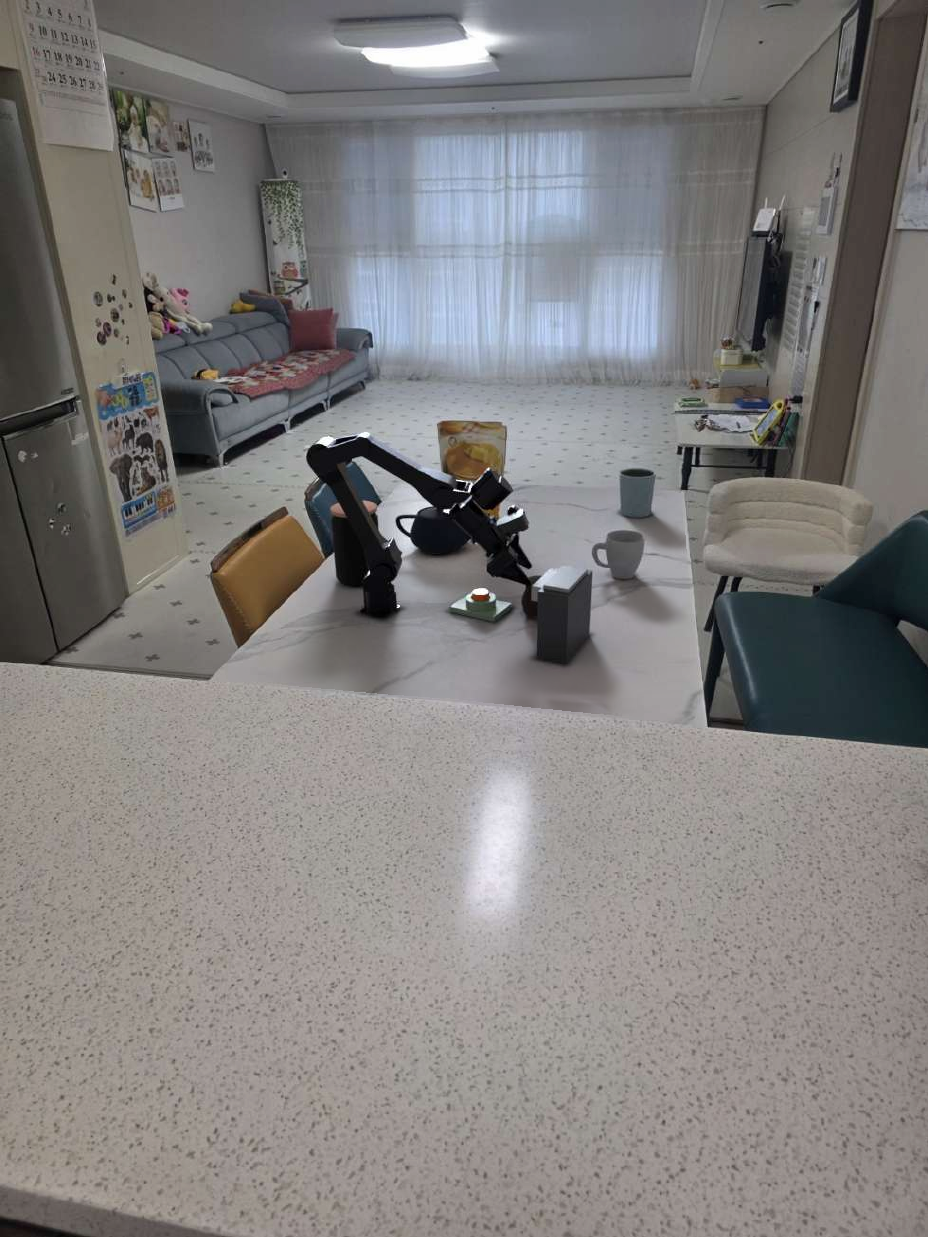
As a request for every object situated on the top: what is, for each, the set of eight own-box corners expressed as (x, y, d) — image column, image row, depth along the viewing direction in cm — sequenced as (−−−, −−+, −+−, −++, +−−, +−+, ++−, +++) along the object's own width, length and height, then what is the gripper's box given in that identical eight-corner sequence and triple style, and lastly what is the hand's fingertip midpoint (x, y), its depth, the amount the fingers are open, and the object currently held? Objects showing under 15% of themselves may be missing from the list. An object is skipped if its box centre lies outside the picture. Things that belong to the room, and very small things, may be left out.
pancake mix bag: (442, 515, 239) (439, 418, 228) (507, 518, 235) (507, 420, 224) (436, 522, 233) (433, 423, 222) (503, 526, 230) (503, 425, 218)
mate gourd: (527, 605, 180) (528, 562, 176) (560, 610, 178) (562, 567, 173) (515, 618, 175) (516, 574, 170) (549, 623, 172) (550, 579, 167)
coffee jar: (390, 575, 198) (385, 503, 190) (367, 591, 189) (361, 516, 182) (352, 569, 202) (346, 498, 194) (327, 584, 193) (320, 510, 186)
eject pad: (449, 611, 178) (449, 598, 177) (468, 598, 184) (468, 586, 183) (494, 622, 173) (493, 609, 172) (512, 608, 179) (512, 595, 178)
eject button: (469, 600, 177) (469, 592, 176) (477, 594, 180) (477, 587, 179) (483, 603, 175) (483, 596, 175) (492, 597, 178) (492, 590, 177)
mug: (638, 567, 199) (641, 529, 195) (644, 581, 191) (647, 542, 187) (588, 568, 200) (590, 530, 196) (592, 581, 192) (594, 542, 188)
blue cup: (655, 518, 233) (659, 476, 228) (619, 518, 233) (622, 477, 228) (648, 507, 242) (652, 467, 237) (614, 507, 243) (616, 467, 238)
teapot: (389, 556, 209) (387, 510, 204) (403, 536, 223) (401, 492, 218) (487, 560, 205) (486, 513, 200) (495, 539, 219) (495, 495, 214)
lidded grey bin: (526, 656, 159) (527, 585, 152) (552, 627, 170) (554, 560, 164) (565, 664, 155) (568, 592, 149) (589, 634, 167) (592, 566, 160)
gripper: (503, 512, 157) (559, 567, 161) (507, 485, 174) (558, 535, 178) (463, 550, 161) (518, 603, 165) (471, 520, 178) (521, 568, 182)
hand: (530, 575), depth 172 cm, fingers open, 9 cm apart
